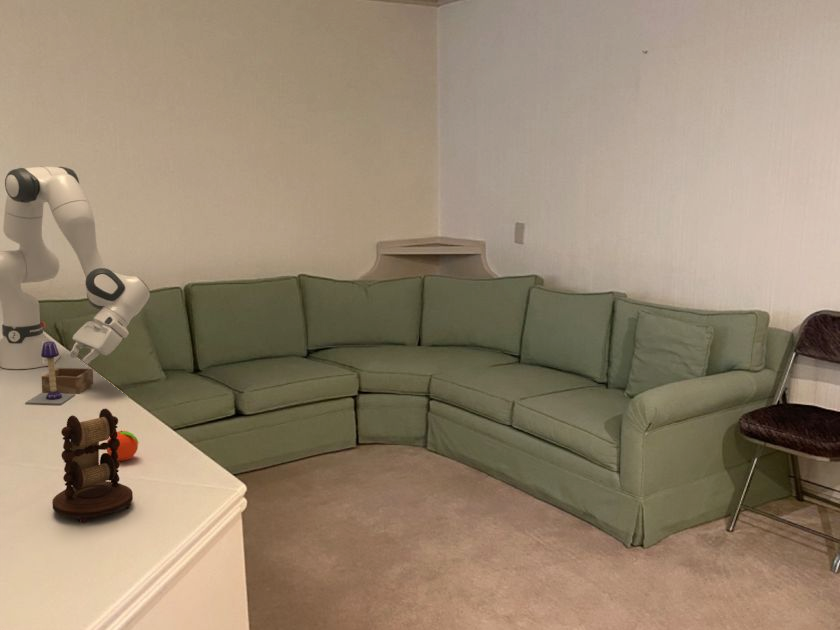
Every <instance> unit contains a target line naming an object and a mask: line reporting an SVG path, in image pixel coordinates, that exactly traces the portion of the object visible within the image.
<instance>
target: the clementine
mask: <svg viewBox="0 0 840 630" xmlns="http://www.w3.org/2000/svg"><path fill="white" fill-rule="evenodd" d="M117 434H118V436H117V439H119V441H120V446H119V447H118V450H116V451H117V454H118V459H117V461H118V462H123V461H128V460H129V459H131V458H133V457H134V455H136V453H137V450H138V448H139V444H140V443H139V441H138V438H137V437H136V436H135V435H134V434H133V433H132V432H130V431H127V430H118V431H117ZM110 439H111V438H110V437H109V439H108V440H106V443H108V441H109V440H110ZM106 453H108V454H109V455H110V456H111V453H112V451H111V450H110V448H109V447H108V448H107V449H106Z"/></svg>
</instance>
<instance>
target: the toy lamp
mask: <svg viewBox="0 0 840 630" xmlns="http://www.w3.org/2000/svg"><path fill="white" fill-rule="evenodd" d="M59 354H60V353H59V350H58V348H57V344H56V342H55V341H52V340H51V341H48V342H44V343H43V347H42V353H41V356H42V357H43V358H47V360H48V366H47V369H48V370H47V371H48V373H49V381H50V383H49V385H50V391H51V392H49V393H48V394H47V395H46V399H48V400H56V399H60V398H62V395H61V394H62V393H60V392H58V391H56V390H57V388H56V382H55V381H56V377H55V369H56V367H55V363H56V362H55V363H54V357H57V356H58V355H59Z"/></svg>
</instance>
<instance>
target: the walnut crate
mask: <svg viewBox="0 0 840 630" xmlns="http://www.w3.org/2000/svg"><path fill="white" fill-rule="evenodd" d="M40 377H41V393H49V392H51V391H50V385H49V383H50V381H49V372H47V373H45V374H43V375H42V376H40ZM55 377H56V381H55V382H56V388H57V390H56V391H58V392H60V393H61V394H75V395H76V394H77V395H78V394H79V395H81V394H82V393H83V392H84V391H86V390H87V389H89V388H90V387H92V386H93V385H94V368H81V367H80V368H79V367H77V368H75V367H74V368H73V367H55Z"/></svg>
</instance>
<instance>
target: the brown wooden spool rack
mask: <svg viewBox="0 0 840 630" xmlns="http://www.w3.org/2000/svg"><path fill="white" fill-rule="evenodd" d="M118 424H119V419H118V417H117V416H115V415H113V414H112V412H111V410H109V409H108V408H102V409H101V410H100V412H99V416H98V417H97V418H93V419H88V420H84V421H80V419H79V418H78V417H77V416H76V415H74V414H73V415H70V416H69V417H68V418H67V420H66V426H64V427H62V429H61V435H62V436H63V437H62V440H64V442H63V446H62V447H63V449H64V450H63V451H62V452H61V459H62V460H63V463H65V465H64V469H63V471H64V472H65V473H64V475H63V477H62V479H63V481H64V482H65V483H64V486H65V489H63V490H62V491H60V492H59V493H57V494H55V496H54V497H53V499H52V510H53V511H54V512H55V513H56V514H58V515H60V516H65V517H69V518H79V519H78V520H79V521H80V523H81V524H84V523H85V522H86V518H93V517H99V516H100V517H101V516H106V515H108V514H113V513H116V512H118V511H120V510H123V509H124V508H126V509H130V508H131V503H132V501H133V499H134V498H133V490H132V489H131V487H129V486H126V485H124V484H122V483H119V481H120V476H119V474H118V473H119V471H120V470H119V468H120V466H121V465H120V461H117V459H118V454H117V451H116V450H118V447H119V446H120V441H119V439H117V436H118V434H117V432H118V431H117V429H118V426H117V425H118ZM109 438H111V439H110V440H109V441H108V439H109ZM103 441H106V442H103ZM107 441H108V443H107ZM100 442H102V443H100ZM108 447H109V448H110V450H111V451H112V453H111V456H110V455H109V454H108V452H104V453H102V454H101V456H100V453H99V451H100V450H101V451H107V448H108ZM99 456H100V457H99Z"/></svg>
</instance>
